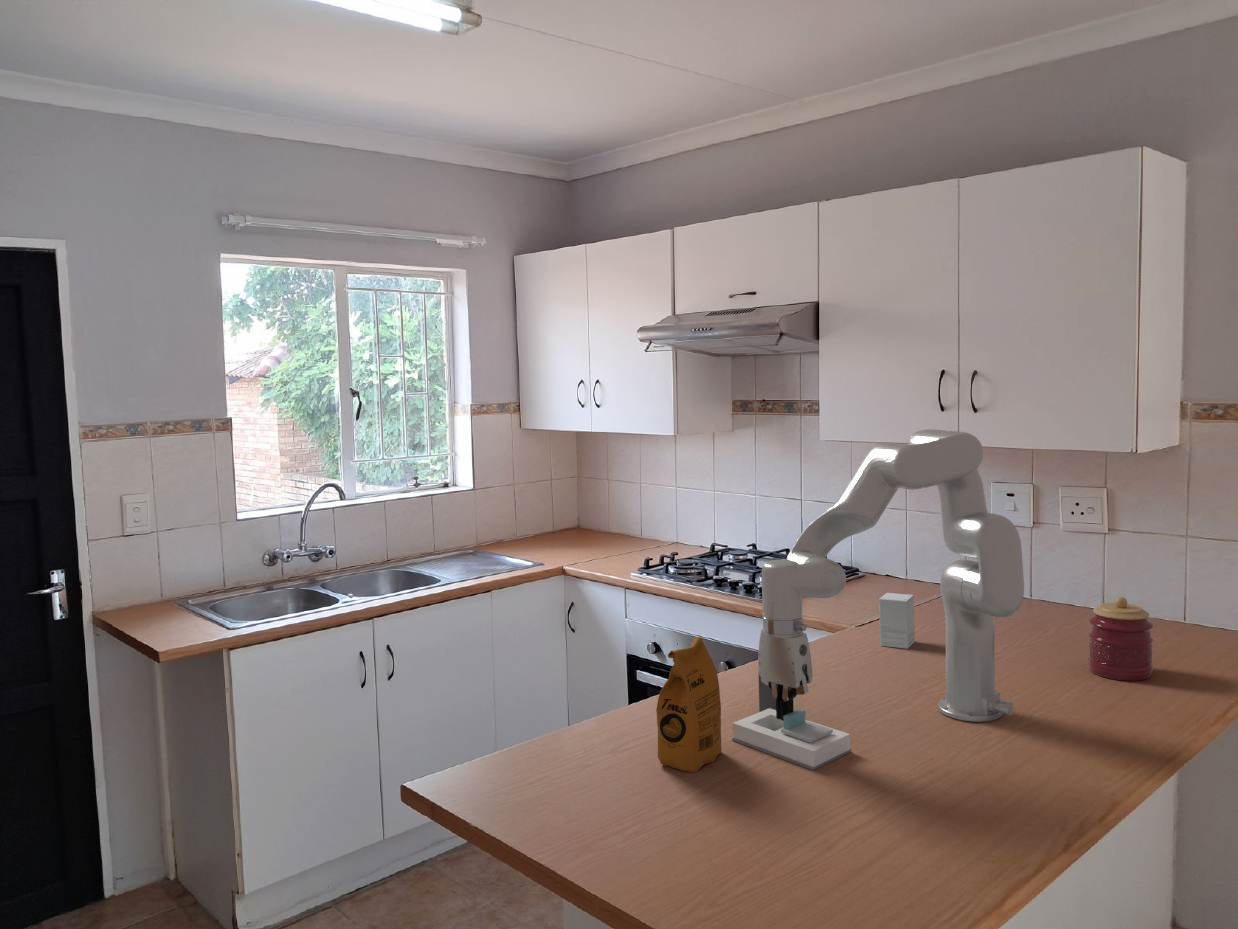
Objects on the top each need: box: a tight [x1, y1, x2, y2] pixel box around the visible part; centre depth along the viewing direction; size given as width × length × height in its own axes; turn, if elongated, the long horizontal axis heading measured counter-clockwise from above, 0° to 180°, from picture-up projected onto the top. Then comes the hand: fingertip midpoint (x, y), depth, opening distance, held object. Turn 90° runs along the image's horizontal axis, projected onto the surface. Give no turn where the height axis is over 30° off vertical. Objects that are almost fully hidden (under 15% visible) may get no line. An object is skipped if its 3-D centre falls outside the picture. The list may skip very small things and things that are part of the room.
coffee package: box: [655, 636, 722, 773], centre depth 171 cm, size 10×12×22 cm
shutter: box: [781, 708, 834, 743], centre depth 173 cm, size 7×7×3 cm
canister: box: [1087, 596, 1155, 682], centre depth 209 cm, size 13×13×18 cm
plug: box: [758, 670, 776, 713], centre depth 191 cm, size 4×4×12 cm
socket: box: [731, 708, 852, 771], centre depth 176 cm, size 20×12×4 cm, turn 41°
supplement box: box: [878, 592, 916, 650], centre depth 238 cm, size 7×7×13 cm
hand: (784, 718), depth 177 cm, fingers closed
